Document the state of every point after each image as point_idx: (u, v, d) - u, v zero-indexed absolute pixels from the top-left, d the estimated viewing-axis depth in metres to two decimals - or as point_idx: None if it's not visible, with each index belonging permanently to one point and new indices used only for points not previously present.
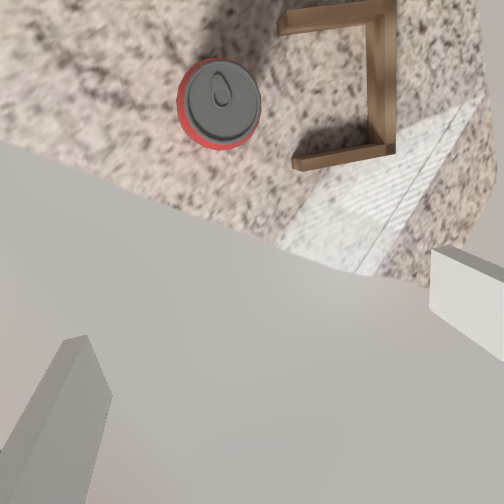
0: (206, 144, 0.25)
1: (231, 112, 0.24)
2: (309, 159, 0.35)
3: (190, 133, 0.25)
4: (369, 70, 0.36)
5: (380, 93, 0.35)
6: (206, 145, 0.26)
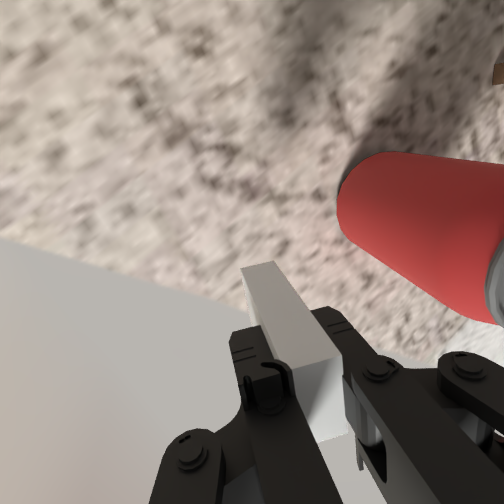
0: (482, 321, 0.14)
1: None
2: None
3: (455, 304, 0.13)
4: None
5: None
6: (476, 320, 0.14)
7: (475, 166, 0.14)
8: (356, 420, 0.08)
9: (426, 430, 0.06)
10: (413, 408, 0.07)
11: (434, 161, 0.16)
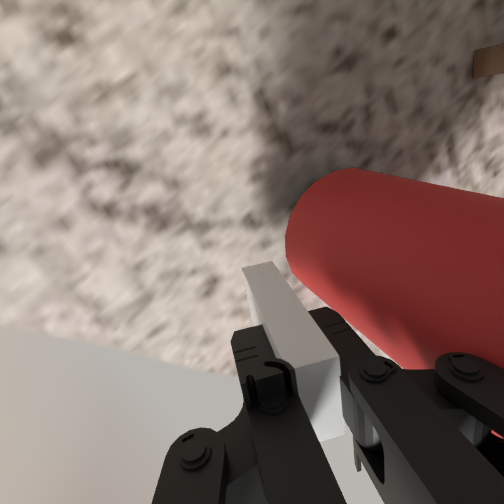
0: None
1: None
2: None
3: None
4: None
5: None
6: None
7: (496, 209, 0.09)
8: (354, 421, 0.08)
9: (423, 431, 0.06)
10: (411, 410, 0.07)
11: (422, 193, 0.11)
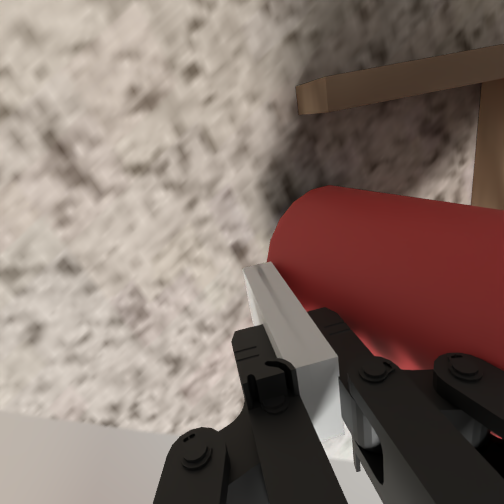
0: None
1: None
2: None
3: None
4: (482, 168, 0.18)
5: None
6: None
7: (502, 222, 0.09)
8: (353, 421, 0.08)
9: (422, 431, 0.06)
10: (410, 409, 0.07)
11: (417, 209, 0.11)
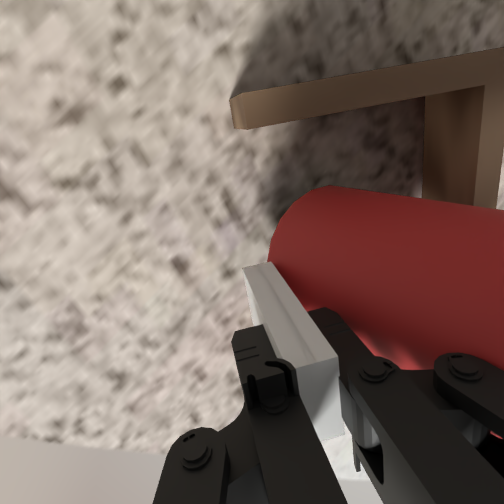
0: None
1: None
2: None
3: None
4: (429, 183, 0.17)
5: None
6: None
7: (503, 223, 0.09)
8: (353, 421, 0.08)
9: (422, 431, 0.06)
10: (410, 410, 0.07)
11: (417, 209, 0.11)
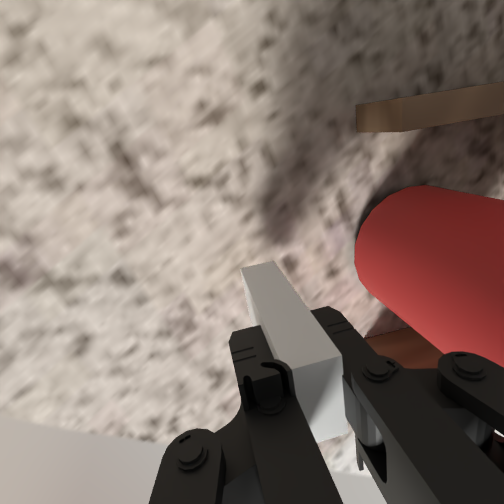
0: None
1: None
2: None
3: None
4: None
5: None
6: None
7: None
8: (356, 420, 0.08)
9: (426, 430, 0.06)
10: (413, 408, 0.07)
11: (495, 208, 0.12)
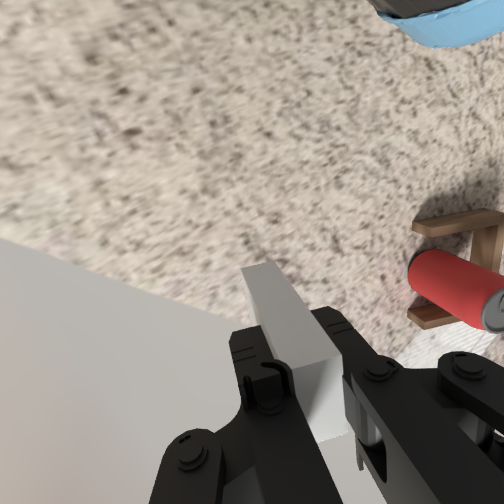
0: None
1: None
2: (430, 321, 0.44)
3: (469, 322, 0.36)
4: (474, 249, 0.46)
5: None
6: (477, 328, 0.37)
7: (476, 270, 0.37)
8: (356, 420, 0.08)
9: (426, 430, 0.06)
10: (413, 408, 0.07)
11: (459, 263, 0.39)
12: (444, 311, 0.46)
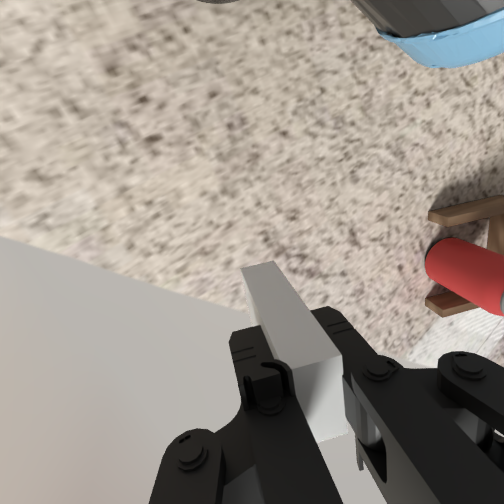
0: (499, 315, 0.37)
1: None
2: (448, 309, 0.45)
3: (489, 309, 0.37)
4: (491, 236, 0.46)
5: None
6: (496, 314, 0.38)
7: (494, 257, 0.38)
8: (356, 420, 0.08)
9: (426, 430, 0.06)
10: (413, 408, 0.07)
11: (476, 251, 0.40)
12: (462, 298, 0.47)
